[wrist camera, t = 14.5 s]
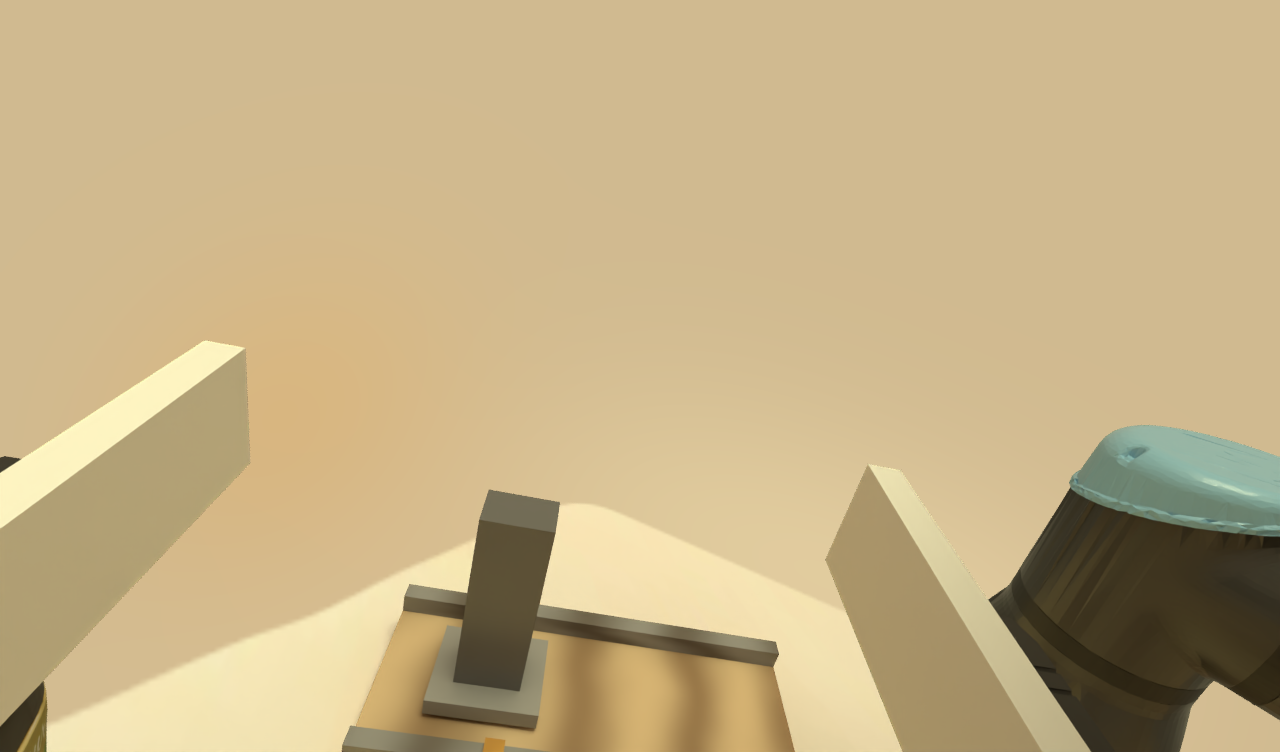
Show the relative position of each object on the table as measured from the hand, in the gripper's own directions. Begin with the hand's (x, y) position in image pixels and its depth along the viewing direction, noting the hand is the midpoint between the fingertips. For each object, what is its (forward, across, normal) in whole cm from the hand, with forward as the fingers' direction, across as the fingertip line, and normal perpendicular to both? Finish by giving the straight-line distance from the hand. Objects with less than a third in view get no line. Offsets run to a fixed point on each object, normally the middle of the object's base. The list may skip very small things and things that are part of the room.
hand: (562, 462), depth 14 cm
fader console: (+14, +5, -27) cm, 31 cm away
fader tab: (+14, -1, -24) cm, 28 cm away
